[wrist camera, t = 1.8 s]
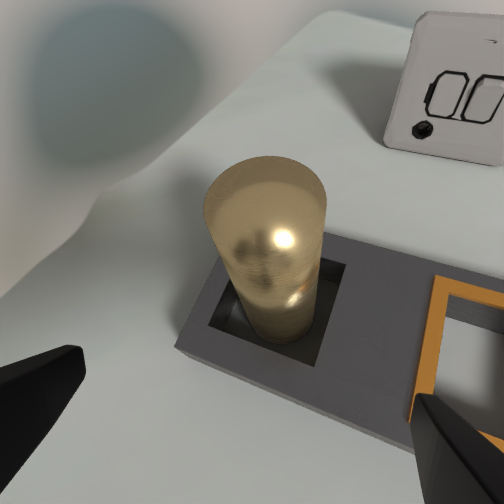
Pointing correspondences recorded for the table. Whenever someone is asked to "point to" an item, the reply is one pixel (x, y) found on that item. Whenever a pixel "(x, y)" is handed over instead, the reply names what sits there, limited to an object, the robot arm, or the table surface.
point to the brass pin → (270, 241)
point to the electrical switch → (452, 89)
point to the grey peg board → (356, 336)
